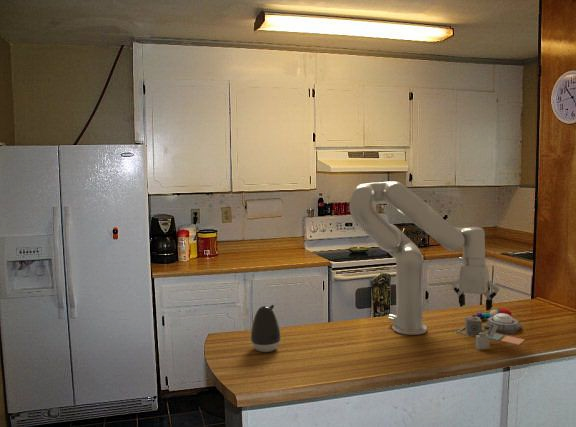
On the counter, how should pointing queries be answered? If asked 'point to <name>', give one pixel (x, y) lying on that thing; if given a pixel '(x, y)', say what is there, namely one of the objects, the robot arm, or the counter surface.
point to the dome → (503, 318)
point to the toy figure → (492, 313)
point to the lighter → (485, 338)
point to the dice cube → (473, 325)
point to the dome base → (504, 326)
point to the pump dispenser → (265, 330)
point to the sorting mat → (498, 336)
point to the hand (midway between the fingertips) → (475, 307)
